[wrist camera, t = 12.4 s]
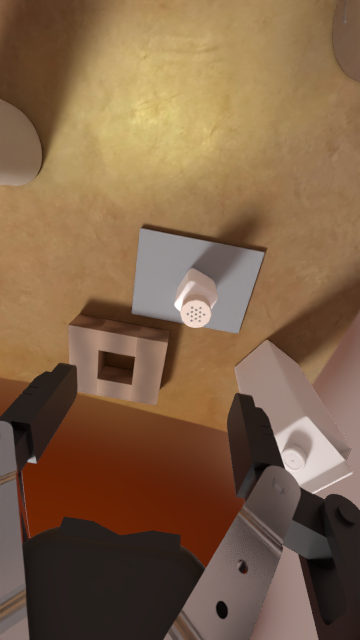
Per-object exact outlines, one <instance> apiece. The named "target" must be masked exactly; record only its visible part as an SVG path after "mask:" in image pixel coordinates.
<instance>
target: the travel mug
mask: <svg viewBox="0 0 360 640" xmlns="http://www.w3.org/2000/svg"><path fill="white" fill-rule="evenodd" d="M41 163H42V148H41V143H40V140H39V137H38V134H37V132H36V130H35V128H34V126H33V125H32V123H31V122H30V120H29V119H28V118H27V117H26V116H25V115H24V114H23V113H22V112H21V111H20V110H19V109H18V108H16V107H15V106H13V105H11V104H9V103H7V102H5V101H3V100H1V99H0V185H14V186H20V185H25V184H27V183H29V182H31V181H32V180H33V179H34V178H35V177H36V176H37V174H38V172H39V170H40V167H41Z"/></svg>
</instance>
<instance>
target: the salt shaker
mask: <svg viewBox="0 0 360 640" xmlns="http://www.w3.org/2000/svg"><path fill="white" fill-rule="evenodd" d="M217 299H218V294H217V290H216V286H215V282H214V281H213V280H212V279H211V278H209V277H208V276H206V275H204V274H203V273H201V272H199V271H198V270H196V269H193V268H191V269H190V270H188V272H187V274H186V275H185V277H184V278H183V280H182V282H181V283H180V285H179V286H178V289H177V294H176V299H175V304H174V306H175V307H176V309H178V310H179V311H180V314H181V318H182V321H183V322H184V323H185V324H186V325H187V326H190V327H194V328H198V327H203V326H204V325H205V324H207V323H208V322H209V320H210V318H211V315H212V313H211V309H212V308H213V306H214V305H215V303H216V301H217Z"/></svg>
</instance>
